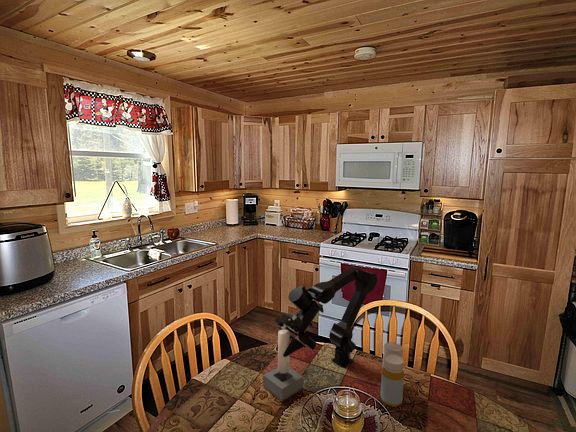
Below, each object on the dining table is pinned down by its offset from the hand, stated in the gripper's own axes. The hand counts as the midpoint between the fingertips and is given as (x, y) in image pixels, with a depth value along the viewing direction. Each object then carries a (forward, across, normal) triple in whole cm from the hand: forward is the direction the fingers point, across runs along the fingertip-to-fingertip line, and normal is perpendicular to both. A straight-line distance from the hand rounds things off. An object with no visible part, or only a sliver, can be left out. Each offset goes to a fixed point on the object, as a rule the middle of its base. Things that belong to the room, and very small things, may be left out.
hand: (280, 353), depth 110 cm
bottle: (-10, +26, +30) cm, 40 cm away
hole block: (+8, 0, +10) cm, 13 cm away
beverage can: (-15, +20, +34) cm, 42 cm away
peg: (+4, 0, +6) cm, 7 cm away
